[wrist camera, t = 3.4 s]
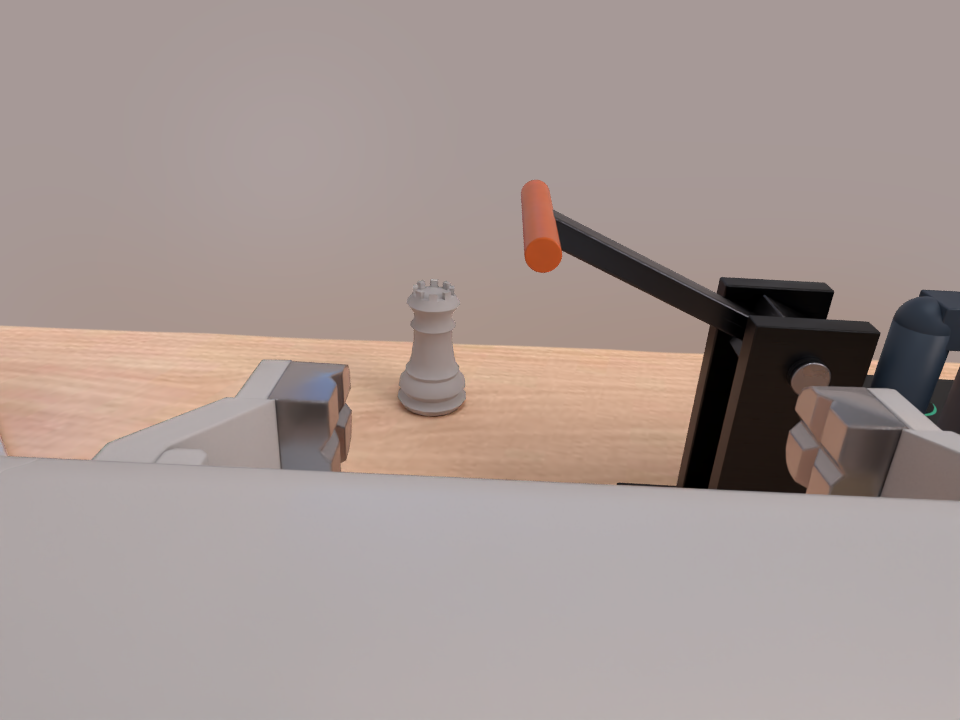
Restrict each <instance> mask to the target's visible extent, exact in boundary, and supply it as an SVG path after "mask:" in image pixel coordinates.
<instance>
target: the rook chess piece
mask: <svg viewBox="0 0 960 720" xmlns="http://www.w3.org/2000/svg"><path fill="white" fill-rule="evenodd" d="M407 304H408V305H409V306H410V308H411V309H412V310H413V312H414V319H413V320H412V321H411V327H412V328H413V329H414V341H413V348H412V354H411V358H410V361H409V362H408V363H407V364H406V370H405V371H404V372H403V373H402V374H401V376H400V381H399V386H400V388H401V389H400V390H399V393H398V398H399V399H400V401H401V402H402V404H403V405H404V406H405V407H406V408H407V409H408V410H410V411H412V412H413V413H416V414H420V415H424V416H440V415H445V414H449V413H451V412H453V411H455V410H456V409H457V408H458V407H459V406H460V405H461V404H462V403H463V401H464V400H465V399H466V392H465V391H464V387H465V378H464V375H463V374H462V373H461V372H460V370H459V365H458V364H457V363H456V361H455V357H454V351H453V343H452V330H453V329H454V328H455V326H456V323H455V322H454V320H453V319H452V314H453V312H454V311H455V310H456V309H457V307H458V306H459V305H460V300H459V299H458V297H457V296H456V295H455V293H454V286H451V283H450V282H447V281H444V282H443V287H439V286H438V280H437V279H431V280H430V286H428V287H425V281H423V280H422V281H419V282H417V285H413V293H412V294H411V295H410V296H409V297H408V299H407Z"/></svg>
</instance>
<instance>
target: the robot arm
mask: <svg viewBox="0 0 960 720" xmlns="http://www.w3.org/2000/svg"><path fill="white" fill-rule="evenodd" d="M350 389H351V383H350V371H349V367H348V365H344V364H329V363H313V362H297V361H291V360H262V361H261V362H260V363H259V365H258V366H257V368H256V369H255V370H254V372H253V373H252V374H251V376H250V377H249V379H248V380H247V381H246V383H245V384H244V385H243V387H242V388H241V390H240V391H239V392H238V394H237V395H236V396H235V398H231V397H226V398H223V399H221V400H218V401H215V402H213V403H210V404H208V405H205V406H202V407H200V408H197V409H195V410H192V411H189V412H187V413H184V414H182V415H179V416H176V417H174V418H171V419H169V420H166V421H164V422H161V423H158V424H156V425H153V426H151V427H148V428H145V429H143V430H140V431H138V432H135V433H132V434H130V435H127V436H125V437H122V438H119V439H117V440H114V441H112V442H109V443H107V444H106V445H105V446H104V447H103V448H102V449H101V450H100V451H99V452H98V453H97V454H96V456H95V457H94V458H93V459H92V460H78V459H57V458H36V457H14V456H8V453H7V451H6V448H5V445H4V443H3V440H2V437H1V435H0V720H960V434H957V433H954V432H952V431H942V430H941V429H940V428H939V427H937V426H936V425H935V424H934V423H933V422H932V421H931V420H929V419H928V418H927V417H926V416H925V415H924V414H923V413H921V412H920V411H919V410H918V409H917V408H916V407H915V406H913V405H912V404H911V403H910V402H909V401H908V400H907V399H905V398H904V397H903V396H902V395H901V394H900V393H899V392H897V391H896V390H894V389H889V388H865V387H833V386H809V387H805V388H803V389H802V391H801V393H800V395H799V396H798V400H797V403H796V407H795V410H796V412H797V414H798V416H799V418H800V420H801V421H800V422H799V423H797V424H796V425H795V426H794V427H793V428H792V429H791V430H790V431H789V434H788V439H787V444H786V463H787V467H788V470H789V473H790V474H791V476H792V478H793V479H794V481H795V482H797V483H799V484H801V485H802V486H804V487H806V488H807V490H806V494H802V493H780V492H759V491H738V490H717V489H695V488H674V487H653V486H631V485H610V484H589V483H567V482H546V481H525V480H503V479H482V478H461V477H439V476H418V475H397V474H375V473H354V472H341V463H342V462H344V461H345V460H346V459H347V456H348V453H349V448H350V442H351V434H352V410H351V409H350V408H349V407H348V405H347V404H346V403H345V402H346V399H347V397H348V394H349V392H350Z"/></svg>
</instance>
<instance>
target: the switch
mask: <svg viewBox="0 0 960 720" xmlns="http://www.w3.org/2000/svg"><path fill="white" fill-rule="evenodd" d="M521 203H522V220H523V237H524V255H525V261H526V263H527V265H528V266H529V267H530V268H531V269H532V270H534V271H536V272H541V273H545V272H549V271H552V270H553V269H555V268H556V267H557V266H558V265H559V263H560V261H561V259H562V251H564V252H566V253H568V254H570V255H572V256H574V257H576V258H578V259H580V260H582V261H584V262H586V263H588V264H590V265H592V266H594V267H596V268H598V269H600V270H602V271H604V272H606V273H608V274H610V275H612V276H614V277H616V278H618V279H620V280H622V281H624V282H626V283H628V284H630V285H632V286H634V287H636V288H638V289H640V290H642V291H644V292H646V293H648V294H650V295H652V296H654V297H656V298H658V299H660V300H662V301H664V302H666V303H667V304H669V305H671V306H673V307H675V308H677V309H680V310H681V311H683V312H686V313H687V314H690V315H691V316H694V317H696V318H697V319H699V320H701V321H704V322H706V323H707V324H709V325H711V326H713V327H715V328H717V329H719V330H721V331H723V332H725V333H727V334H729V335H731V336H733V337H732V338H731V339H730V341H729V343H730V345H731V346H732V348H733V349H734V351H735V352H736V354H737V356H738V357H739V355H740V350H741V346H742V342H743V338H744V333H745V329H746V325H747V321H748V316H749V315H753V316H771V317H790V318H808V319H810V318H809V317H807V316H805V315H803V314H801V313H799V312H797V311H795V310H793V309H791V308H789V307H787V306H785V305H783V304H782V303H780V302H778V301H776V300H774V299H772V298H770V297H768V296H766V295H763V296H762V298H761V299H760V300H759V302H758V303H757V304H756V306H755V307H754V308H753V310H752V311H750V310H748V309H746V308H744V307H742V306H740V305H738V304H736V303H734V302H732V301H730V300H729V299H727V298H725V297H723V296H721V295H719V294H717V293H715V292H713V291H711V290H709V289H707V288H705V287H703V286H701V285H699V284H697V283H695V282H693V281H691V280H689V279H687V278H685V277H684V276H682V275H680V274H678V273H676V272H674V271H672V270H670V269H668V268H666V267H664V266H662V265H660V264H658V263H656V262H654V261H652V260H650V259H648V258H646V257H645V256H643V255H641V254H639V253H637V252H635V251H633V250H631V249H629V248H627V247H625V246H623V245H621V244H619V243H617V242H615V241H613V240H611V239H609V238H607V237H605V236H603V235H601V234H600V233H598V232H596V231H593V230H592V229H590V228H588V227H586V226H584V225H582V224H580V223H578V222H576V221H574V220H572V219H570V218H568V217H566V216H564V215H562V214H560V213H559V212H557V211H555V210H553V206H552V201H551V196H550V191H549V188H548V186H547V185H546V184H545V183H544V182H542V181H540V180H531V181H529V182H527V183H526V184H525V185H524V186H523V188H522V191H521Z"/></svg>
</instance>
